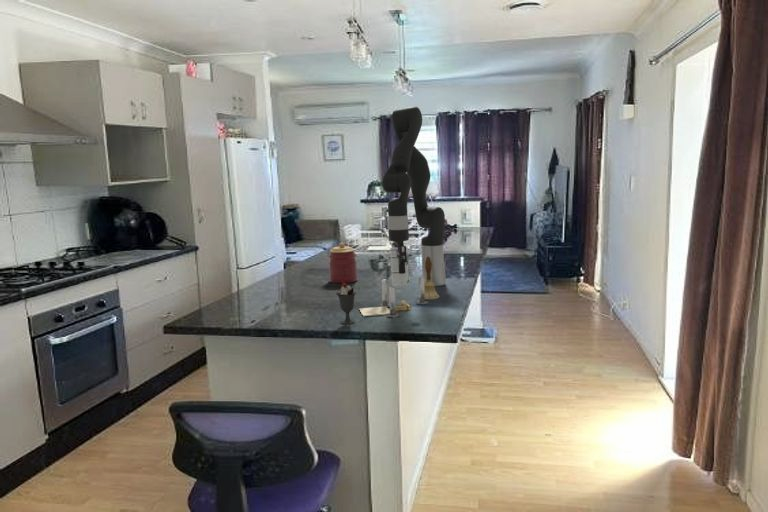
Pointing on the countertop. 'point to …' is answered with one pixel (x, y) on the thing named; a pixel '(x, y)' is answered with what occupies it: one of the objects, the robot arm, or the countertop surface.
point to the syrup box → (396, 276)
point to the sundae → (346, 301)
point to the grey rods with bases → (404, 303)
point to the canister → (342, 264)
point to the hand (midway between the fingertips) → (399, 271)
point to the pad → (374, 311)
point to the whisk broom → (429, 282)
